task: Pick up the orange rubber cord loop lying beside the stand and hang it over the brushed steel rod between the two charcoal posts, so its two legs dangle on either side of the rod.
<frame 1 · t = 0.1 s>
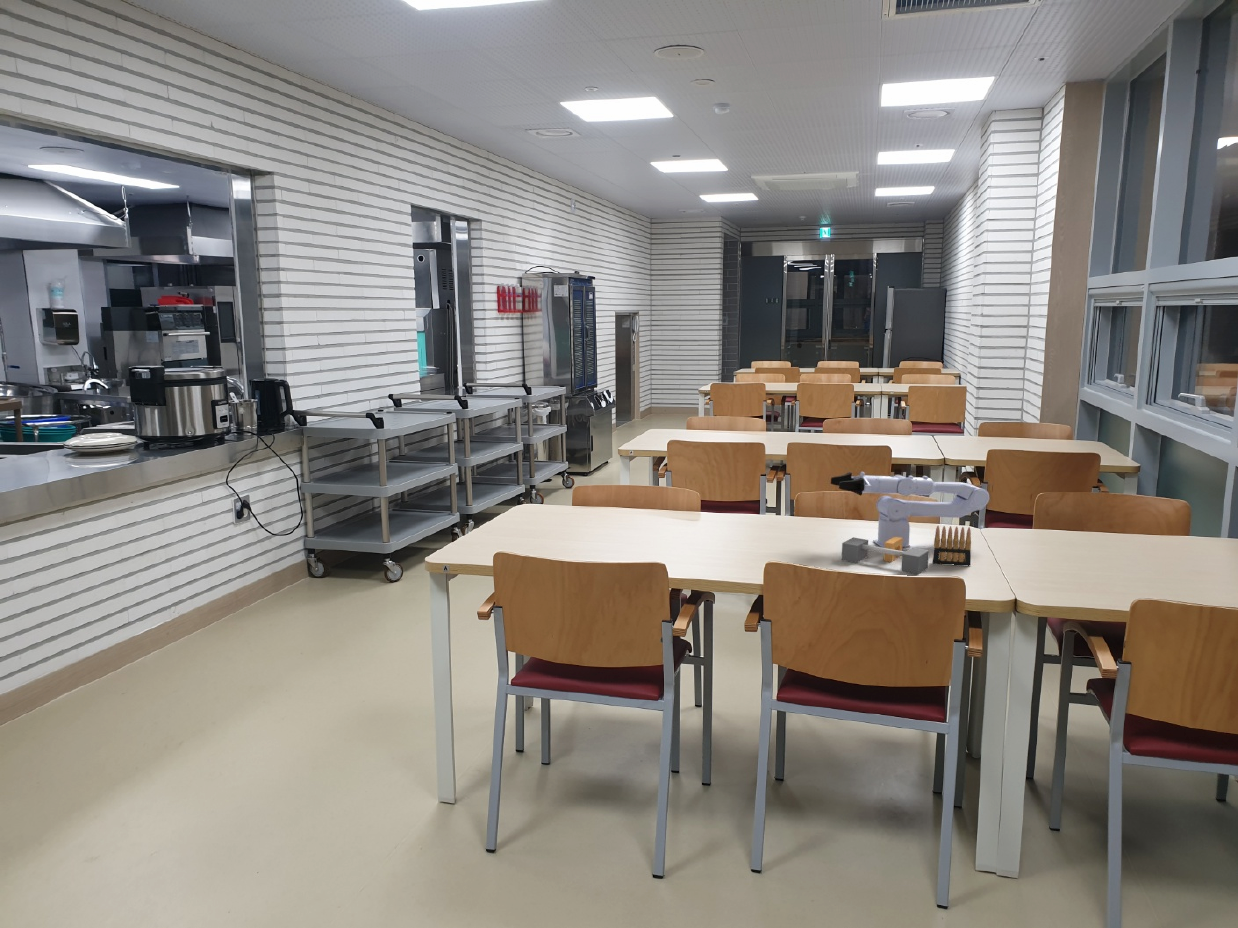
hand: (835, 483, 267), 22 cm above the table, tool horizontal, fingers open, 7 cm apart
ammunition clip: (951, 564, 251), on the table
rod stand: (883, 563, 253), on the table
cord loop: (893, 558, 258), on the table
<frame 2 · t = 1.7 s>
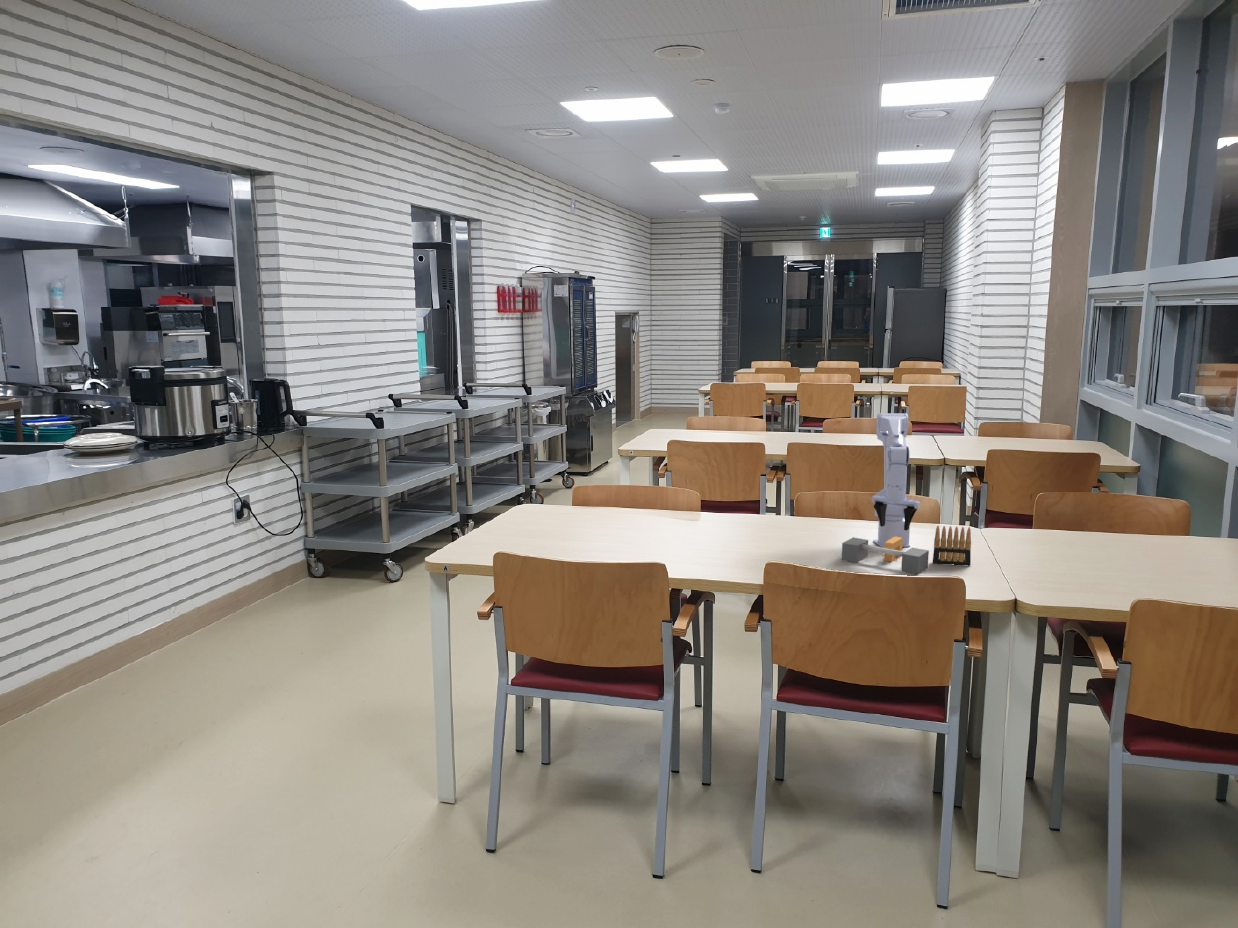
hand: (894, 527, 256), 10 cm above the table, tool pointing down, fingers open, 7 cm apart
nothing on the table moved.
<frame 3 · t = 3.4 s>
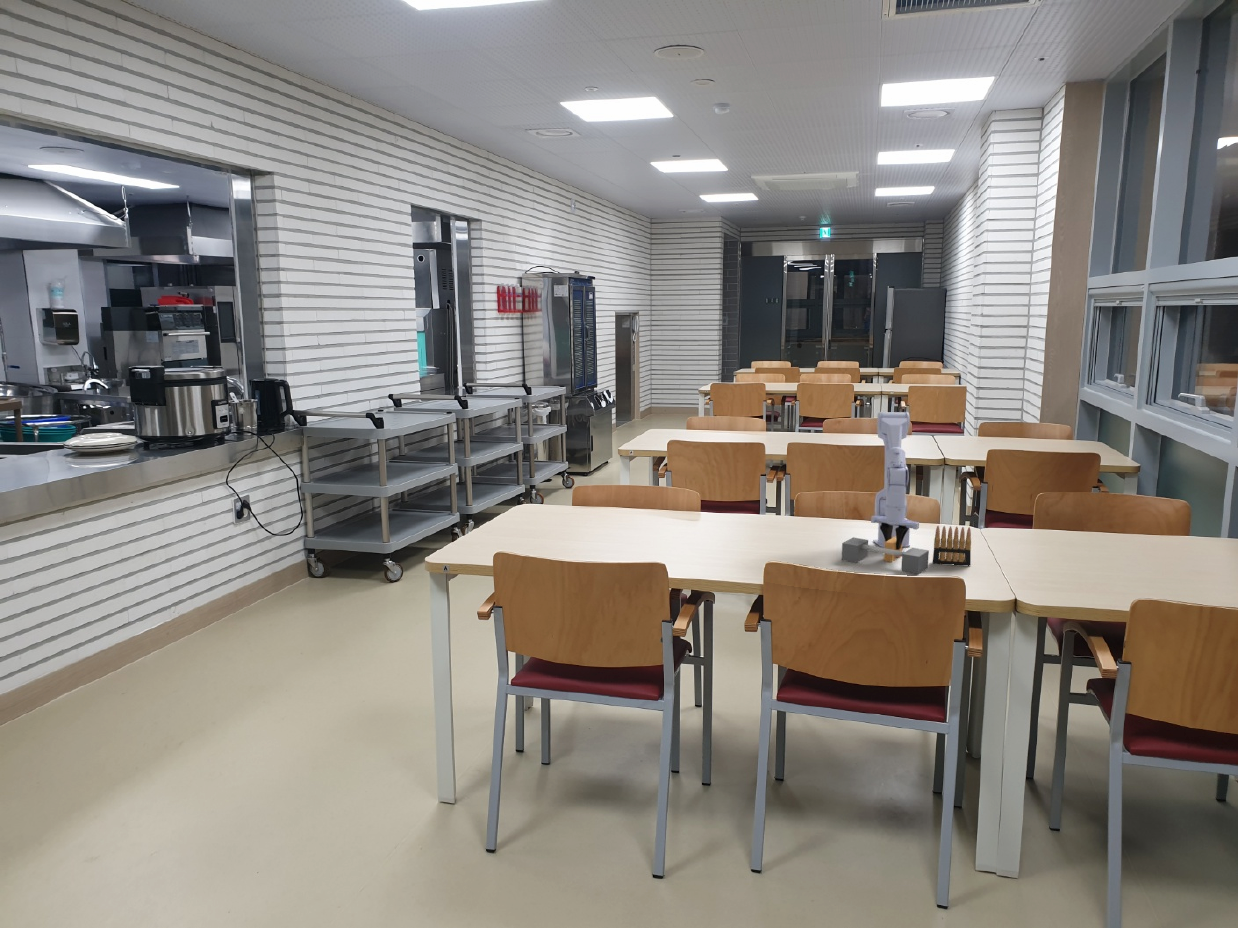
hand: (893, 547, 257), 3 cm above the table, tool pointing down, fingers closed on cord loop, 2 cm apart
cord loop: (893, 558, 258), on the table, touching gripper
everything else where it was.
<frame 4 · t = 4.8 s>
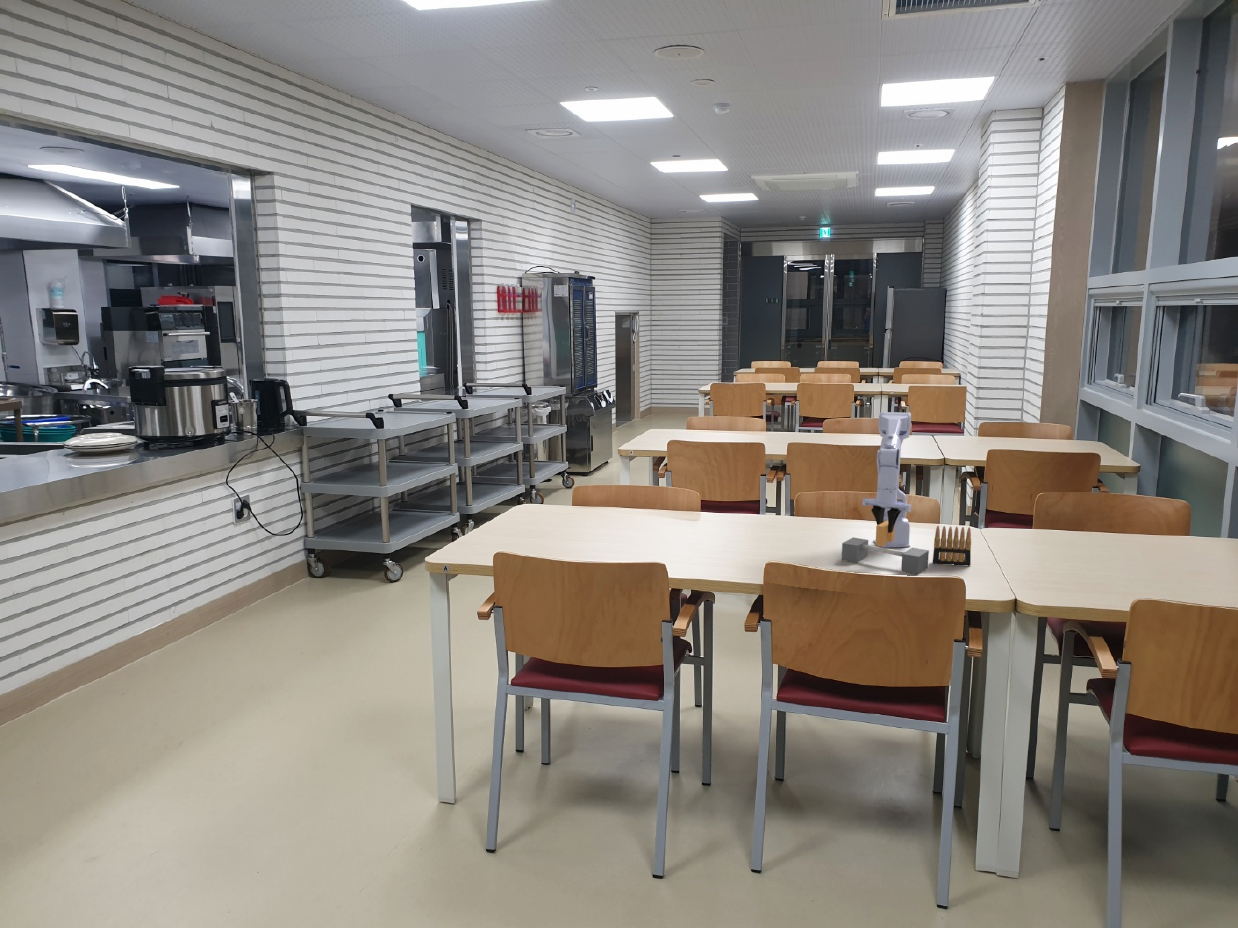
hand: (885, 531, 251), 10 cm above the table, tool pointing down, fingers closed on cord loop, 2 cm apart
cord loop: (884, 542, 251), point 7 cm above the table, touching gripper
everything else where it was.
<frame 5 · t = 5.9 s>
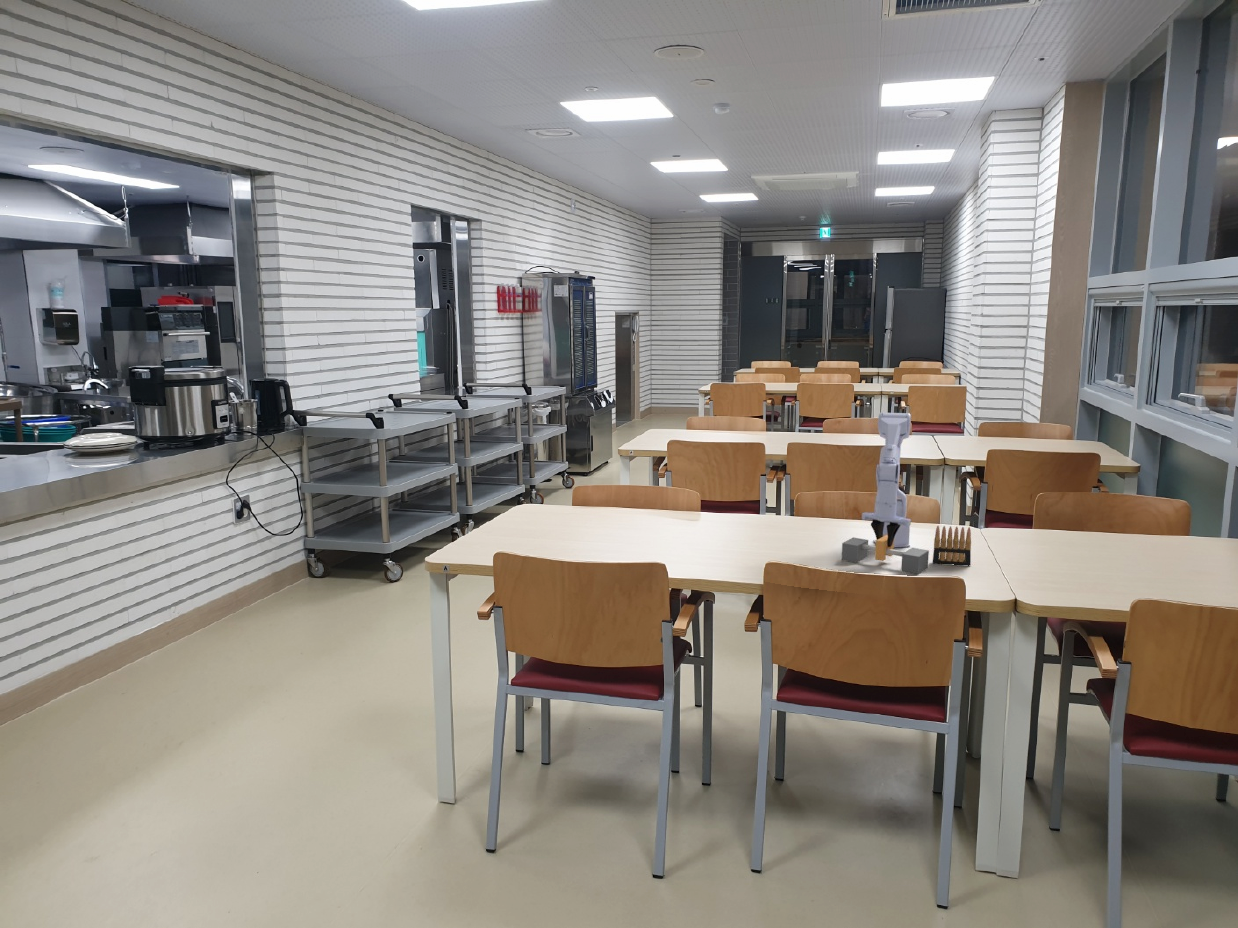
hand: (884, 545, 251), 6 cm above the table, tool pointing down, fingers closed on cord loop, 2 cm apart
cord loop: (884, 557, 252), point 2 cm above the table, touching gripper
everything else where it was.
when the fingers open (6 cm above the table, at t = 6.5 s): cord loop drops 1 cm, resting on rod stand.
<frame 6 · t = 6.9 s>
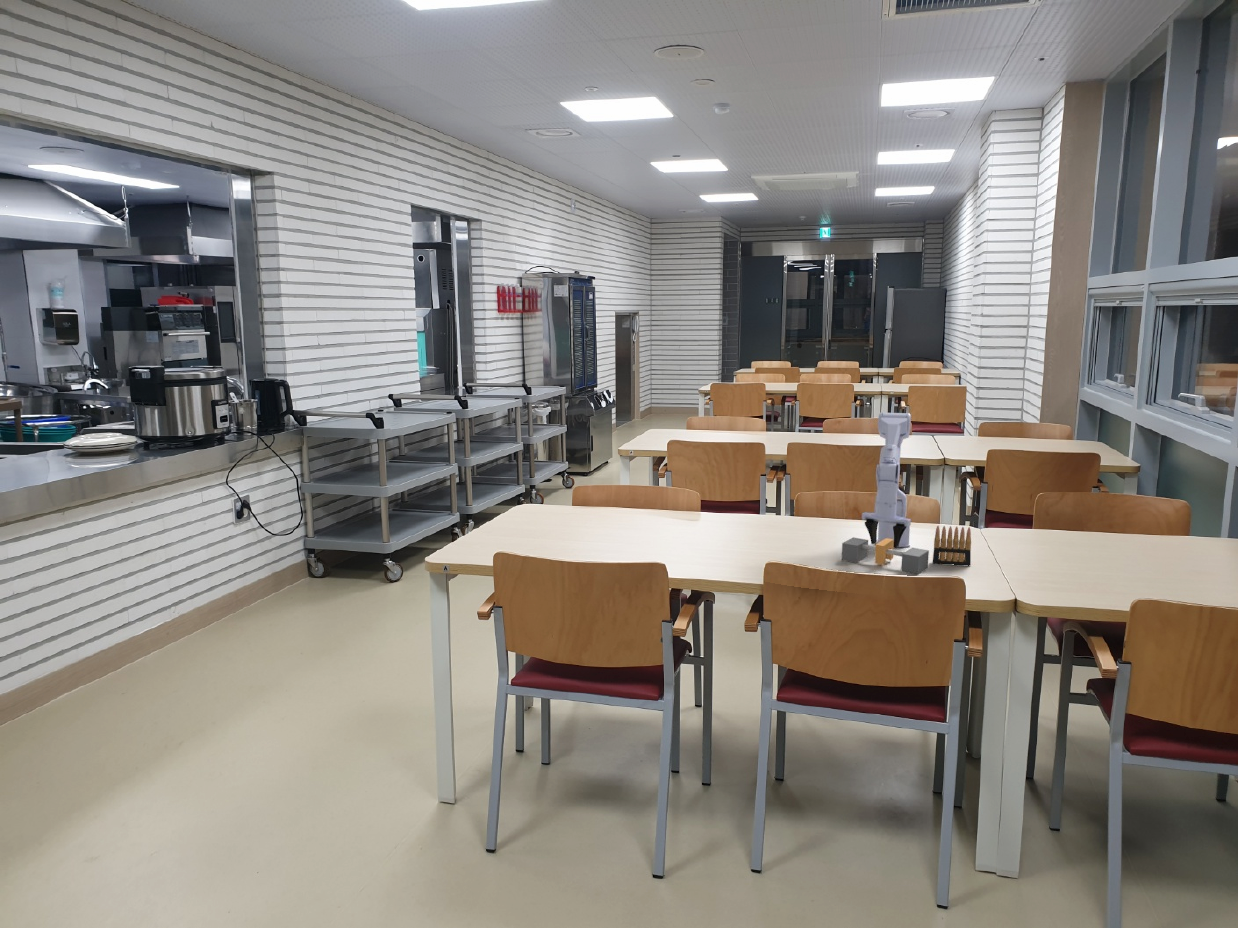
hand: (884, 545, 251), 6 cm above the table, tool pointing down, fingers open, 6 cm apart
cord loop: (884, 560, 252), point 1 cm above the table, touching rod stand
everything else where it was.
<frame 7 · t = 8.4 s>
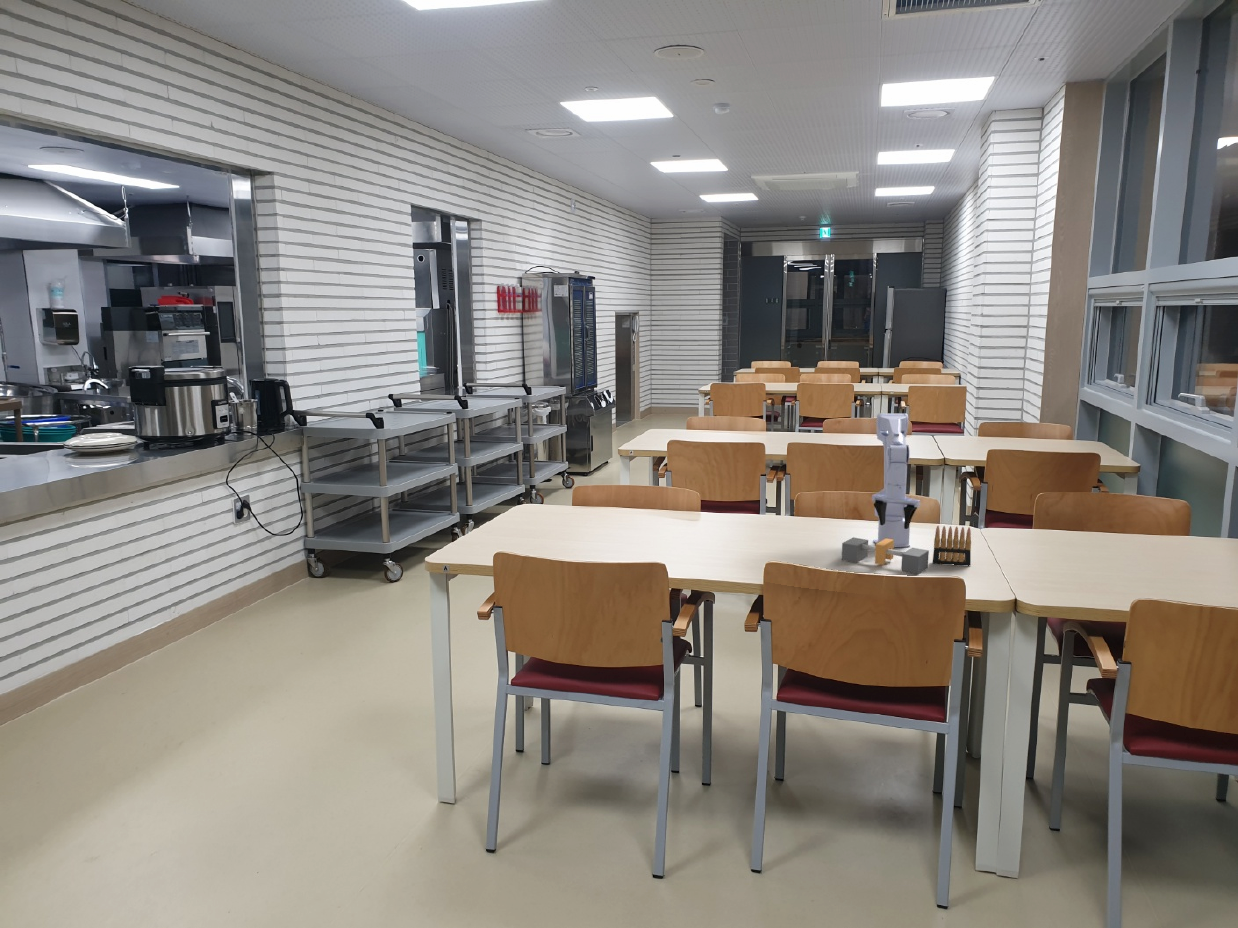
hand: (894, 526, 256), 10 cm above the table, tool pointing down, fingers open, 7 cm apart
nothing on the table moved.
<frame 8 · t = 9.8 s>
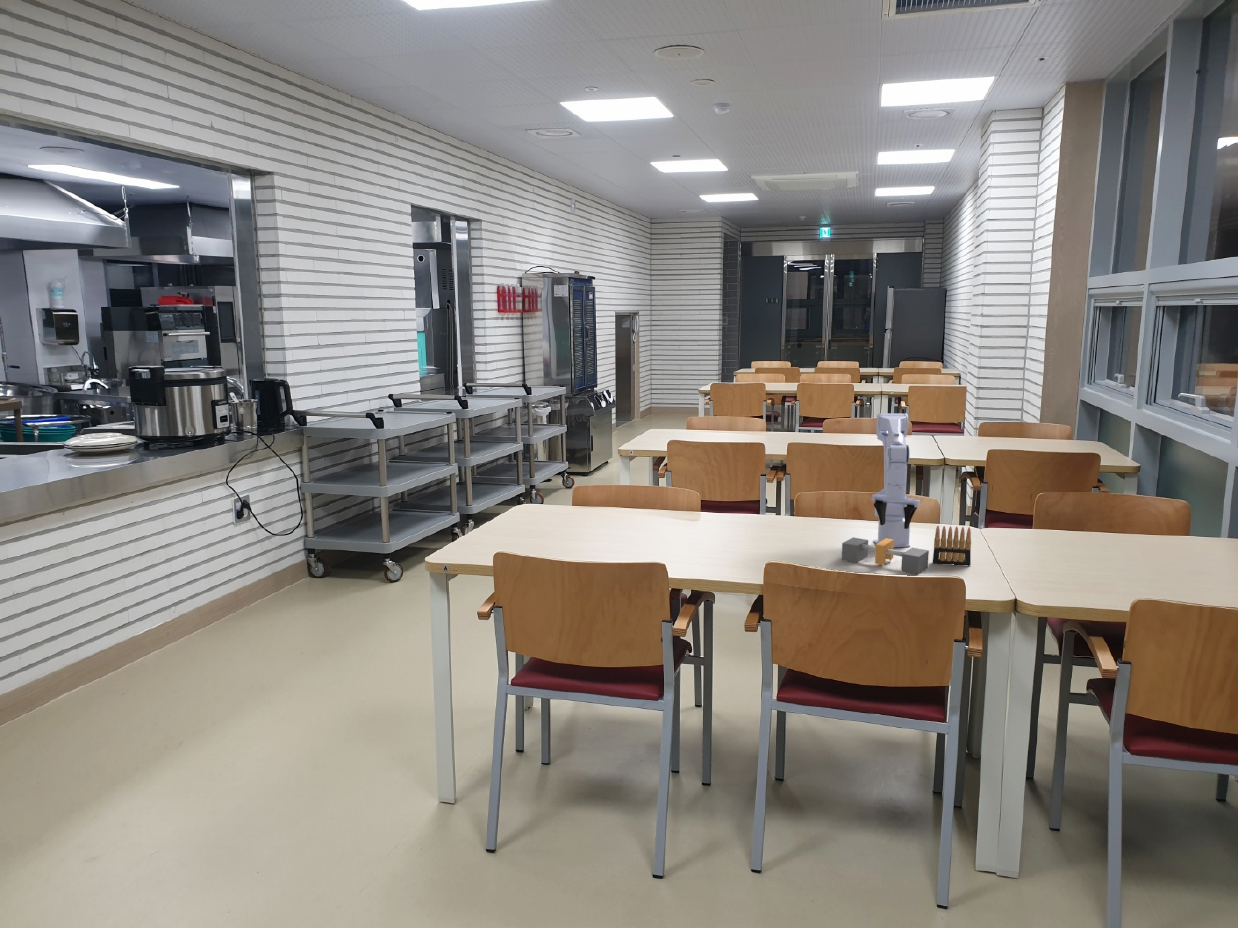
hand: (894, 526, 256), 10 cm above the table, tool pointing down, fingers open, 7 cm apart
nothing on the table moved.
at the end: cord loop 0.1 cm off-centre on the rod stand, point 1.0 cm above the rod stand's base; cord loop touching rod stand; the gripper is holding nothing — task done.
